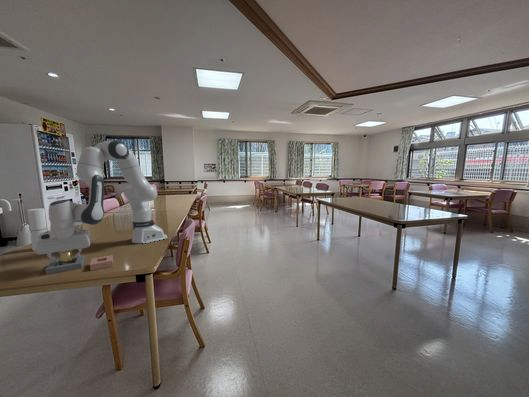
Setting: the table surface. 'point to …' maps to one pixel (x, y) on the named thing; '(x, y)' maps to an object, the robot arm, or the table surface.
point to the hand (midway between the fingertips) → (66, 258)
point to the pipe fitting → (66, 257)
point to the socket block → (55, 268)
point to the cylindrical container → (36, 224)
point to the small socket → (101, 262)
